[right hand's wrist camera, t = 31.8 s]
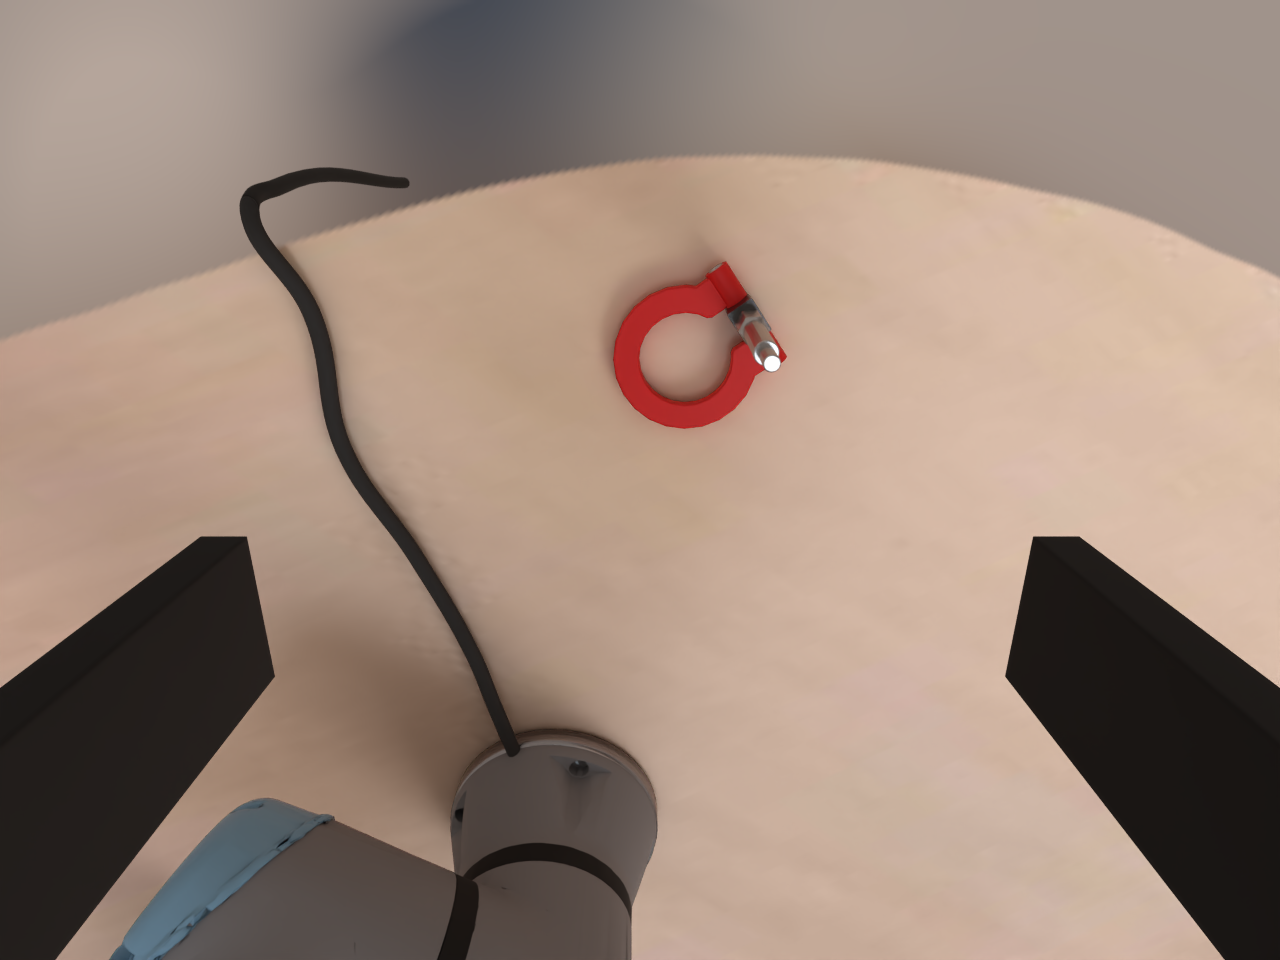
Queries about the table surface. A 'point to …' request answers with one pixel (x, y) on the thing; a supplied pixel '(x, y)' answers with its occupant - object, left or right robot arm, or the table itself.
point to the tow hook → (707, 302)
